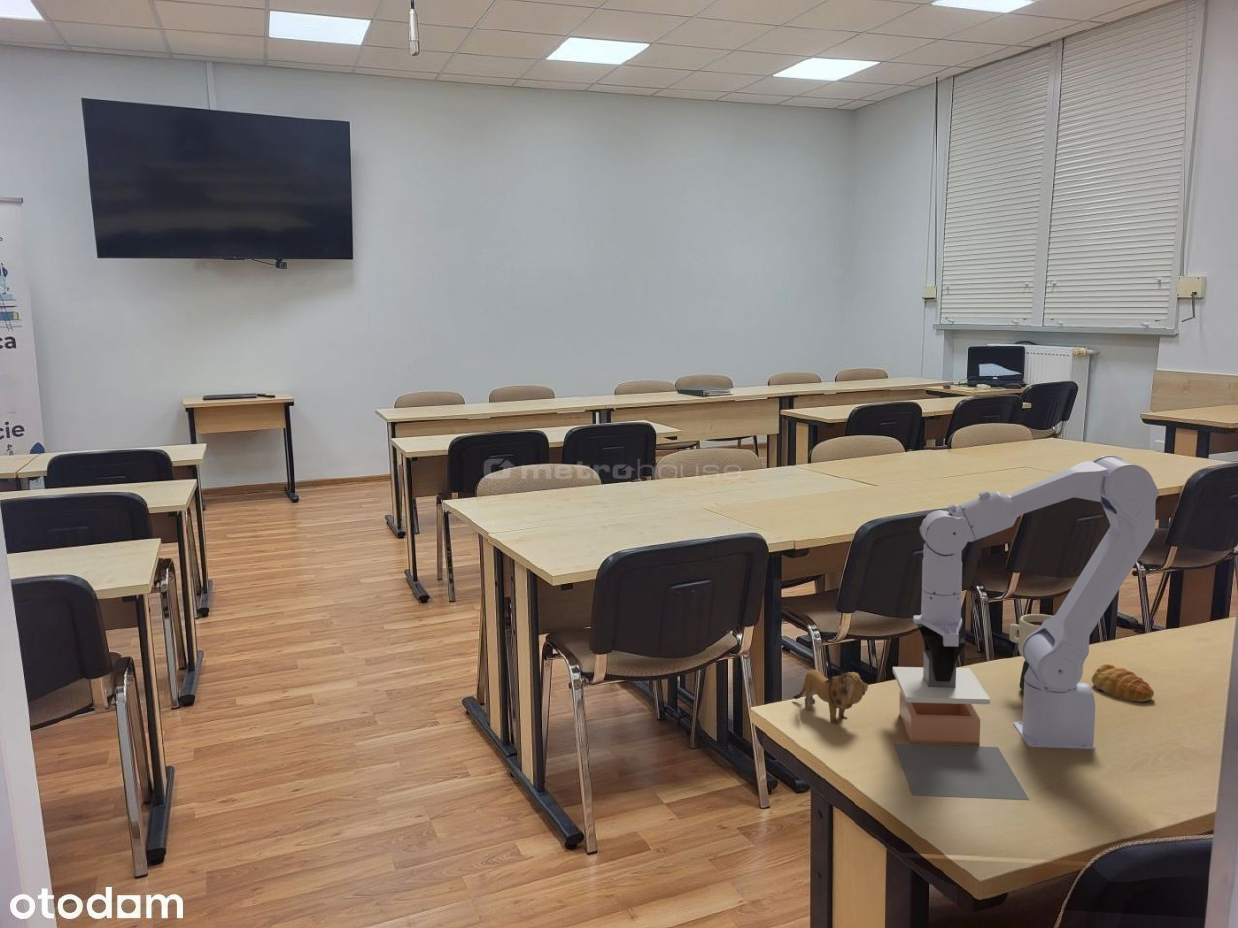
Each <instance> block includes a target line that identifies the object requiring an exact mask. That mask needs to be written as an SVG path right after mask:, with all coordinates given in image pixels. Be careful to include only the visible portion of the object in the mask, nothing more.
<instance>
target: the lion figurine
mask: <svg viewBox="0 0 1238 928" xmlns="http://www.w3.org/2000/svg"><path fill="white" fill-rule="evenodd" d="M868 689H869V684H867V683H866V682H864V681H863V680H862V679H861V677H860V674H859V673H858V672H854V671H852V672H850V671H847V672H845V673H843V674H839V675H837V676H835V675H834V676H832V677H830V678H827V677H826V676H824V674H823V672H822V671H820V670H817V669H810V670H808V671H807V672H806V674H805V678H804V684H803V686H802V689H801V691H800V692H799V693H798V694H796V695H794V696H793V697H792V698H793V699H795V700H799V699H801V697H802V696H803V695H804V694H805V697H804V698H805V699H804V709H805V711H806V712H812V711H813V708H811V706H810V704H814V703H816V699H815V698H813V696H814V695H815V694H816V695H817V697H818V698H819V699H820V700H822V701H823V702H825V703H828V710H829V718H830V719H829V721H830V724H831V725H837V724H839V723H838V719H841V720H847V719H848V717H847V716H845V714H844V713H845V711H846V710H849V709H851V708H852V707H853V705H857V704H858V703H859V702H861V700H862V698H863V697H864V696H865V695H866V692H868ZM837 709H838V719H837Z"/></svg>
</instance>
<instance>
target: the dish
mask: <svg viewBox="0 0 1238 928" xmlns="http://www.w3.org/2000/svg"><path fill="white" fill-rule="evenodd" d="M975 709H976V708H974V706H973V704H952V703H914V702H906V701H905V699H904V697H903V694H902V692H901V690H900V689H899V713H898V714H899V717H900V720H901V722H902V724H903V727H904V730H905V732H906V734H907V737H908V740H909V742H910V743H909V744H926V745H957V746H980V745H981V744H980V743H981V741H980V739H981V738H980V737H981V718H980V716H979V714H978V713H977V710H975Z"/></svg>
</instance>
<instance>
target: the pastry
mask: <svg viewBox="0 0 1238 928" xmlns="http://www.w3.org/2000/svg"><path fill="white" fill-rule="evenodd" d="M1091 683H1092V684H1093V685H1094V686H1095V688H1096V689H1097V690H1101V691H1103V693H1106V694H1107V695H1109V696H1114V697H1116V698H1120V699H1122V700H1126V701H1131V702H1132V701H1133V702H1139V703H1142V702H1143V703H1144V702H1147V701H1151V700H1152V698H1153V697H1154V694H1155V692H1154V690H1153V689H1152V687H1151V686H1150V684H1149V683H1148V682H1146V681H1144V680H1143V678H1142V677H1139V676H1137V675H1136V674H1135V672H1134V671H1129V670H1127V669H1126V668H1123V667H1116V666H1115V665H1113V664H1110V663H1109V664H1108V663H1107V664H1102V665H1100V667H1099V668H1097V669H1096V670H1095V671H1094V672H1093V675H1092V678H1091Z"/></svg>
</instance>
